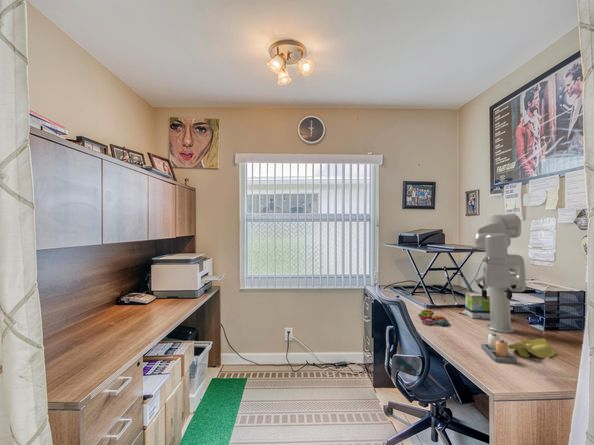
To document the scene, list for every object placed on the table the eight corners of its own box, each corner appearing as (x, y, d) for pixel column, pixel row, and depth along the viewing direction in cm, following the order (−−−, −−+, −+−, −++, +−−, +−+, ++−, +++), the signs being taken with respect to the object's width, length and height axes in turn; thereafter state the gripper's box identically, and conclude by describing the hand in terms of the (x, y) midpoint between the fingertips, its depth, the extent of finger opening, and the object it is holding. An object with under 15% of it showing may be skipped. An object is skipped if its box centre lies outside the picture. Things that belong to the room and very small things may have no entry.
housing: (480, 348, 138) (480, 343, 138) (501, 350, 136) (501, 345, 136) (493, 363, 123) (493, 357, 123) (518, 366, 121) (518, 360, 121)
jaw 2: (487, 348, 136) (486, 331, 136) (497, 349, 135) (497, 332, 135) (490, 352, 132) (490, 335, 132) (501, 353, 131) (501, 335, 131)
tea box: (472, 318, 184) (471, 295, 184) (465, 314, 194) (464, 291, 194) (497, 319, 182) (497, 295, 183) (489, 314, 192) (488, 292, 193)
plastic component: (524, 341, 142) (547, 337, 134) (532, 357, 138) (556, 355, 131) (502, 346, 132) (526, 342, 124) (510, 364, 129) (534, 361, 121)
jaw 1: (498, 360, 124) (497, 341, 124) (494, 355, 128) (493, 337, 129) (510, 361, 123) (509, 342, 123) (506, 356, 127) (505, 338, 127)
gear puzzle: (415, 311, 203) (415, 306, 203) (440, 313, 199) (440, 307, 199) (423, 326, 173) (423, 319, 173) (453, 328, 169) (452, 321, 169)
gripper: (477, 262, 131) (478, 300, 132) (521, 262, 127) (522, 301, 127) (471, 260, 139) (472, 296, 139) (513, 260, 135) (514, 297, 135)
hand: (496, 298), depth 133 cm, fingers open, 9 cm apart
